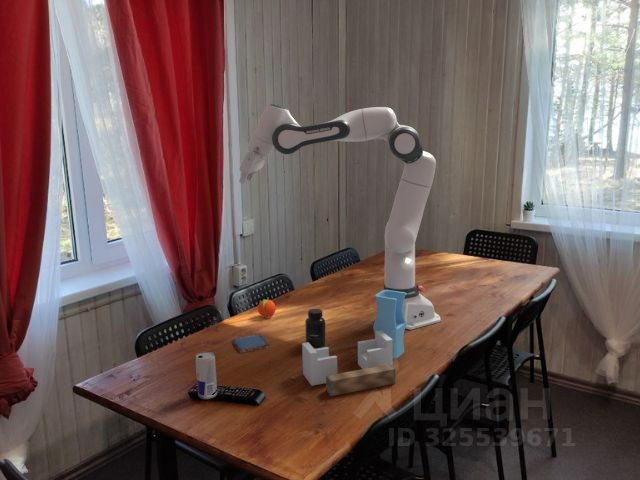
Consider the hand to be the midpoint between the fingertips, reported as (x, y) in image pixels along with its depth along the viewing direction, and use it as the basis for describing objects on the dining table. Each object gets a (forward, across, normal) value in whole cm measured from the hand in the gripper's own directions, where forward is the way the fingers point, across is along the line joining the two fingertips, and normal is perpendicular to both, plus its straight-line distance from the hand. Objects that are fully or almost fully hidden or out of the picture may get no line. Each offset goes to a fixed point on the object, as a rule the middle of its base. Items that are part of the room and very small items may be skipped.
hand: (245, 181), depth 207 cm
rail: (+26, -51, -65) cm, 87 cm away
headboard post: (+25, -38, -67) cm, 81 cm away
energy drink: (+47, -60, -28) cm, 81 cm away
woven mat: (+45, -24, -30) cm, 60 cm away
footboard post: (+32, -46, -55) cm, 78 cm away
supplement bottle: (+35, -21, -50) cm, 64 cm away
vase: (+23, -26, -72) cm, 80 cm away
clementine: (+45, +3, -29) cm, 54 cm away
